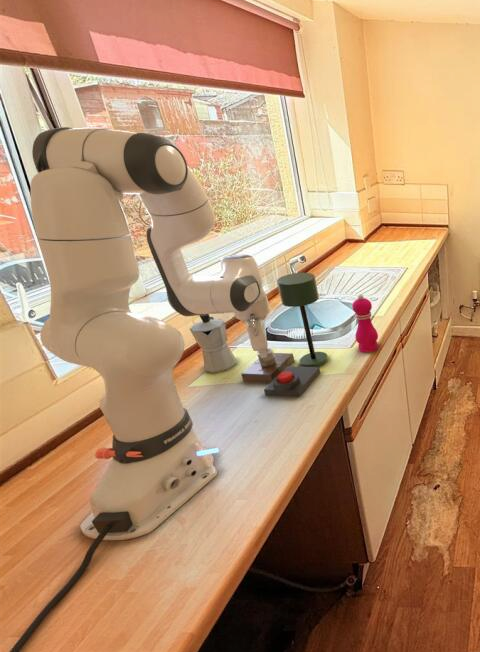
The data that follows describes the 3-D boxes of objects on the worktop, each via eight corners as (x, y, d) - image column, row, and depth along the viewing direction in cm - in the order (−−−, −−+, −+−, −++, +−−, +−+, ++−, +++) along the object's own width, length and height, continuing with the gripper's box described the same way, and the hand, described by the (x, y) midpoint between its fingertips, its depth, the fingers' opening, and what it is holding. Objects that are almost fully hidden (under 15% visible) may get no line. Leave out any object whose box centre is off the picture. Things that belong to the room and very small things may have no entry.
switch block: (299, 397, 112) (296, 386, 111) (265, 396, 113) (261, 384, 111) (320, 373, 123) (318, 362, 122) (289, 372, 124) (286, 361, 122)
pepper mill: (352, 350, 136) (343, 296, 128) (368, 341, 142) (360, 289, 134) (368, 355, 133) (359, 300, 125) (383, 346, 139) (376, 293, 131)
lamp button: (288, 383, 112) (287, 378, 111) (276, 383, 112) (274, 378, 112) (295, 376, 115) (294, 371, 115) (283, 375, 116) (282, 370, 115)
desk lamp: (322, 371, 124) (303, 285, 112) (290, 370, 125) (269, 283, 113) (336, 354, 133) (320, 273, 122) (307, 353, 134) (288, 272, 122)
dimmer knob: (278, 359, 124) (274, 347, 123) (270, 366, 121) (267, 354, 119) (265, 359, 125) (262, 347, 123) (257, 366, 121) (254, 354, 119)
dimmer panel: (272, 383, 118) (270, 374, 117) (243, 382, 119) (240, 373, 117) (294, 361, 129) (292, 353, 128) (267, 360, 130) (265, 352, 128)
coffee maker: (238, 370, 124) (221, 318, 117) (203, 379, 119) (184, 326, 112) (236, 349, 135) (221, 301, 128) (204, 357, 131) (187, 307, 123)
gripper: (266, 319, 109) (277, 362, 114) (262, 294, 124) (273, 333, 130) (238, 325, 106) (252, 369, 111) (238, 298, 121) (250, 337, 127)
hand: (263, 349), depth 121 cm, fingers open, 8 cm apart
